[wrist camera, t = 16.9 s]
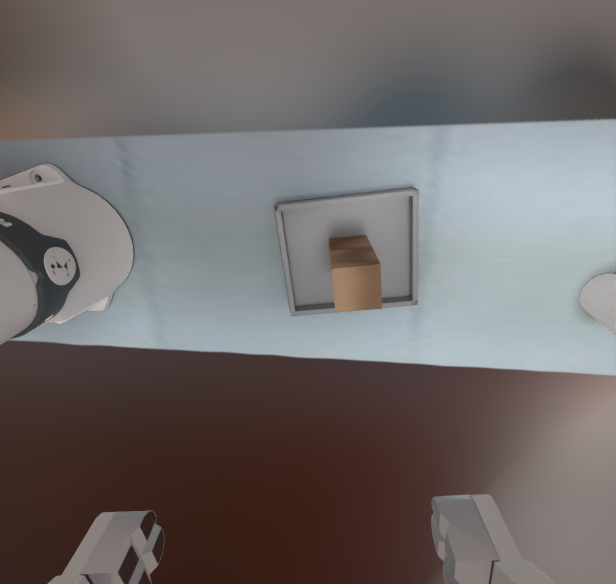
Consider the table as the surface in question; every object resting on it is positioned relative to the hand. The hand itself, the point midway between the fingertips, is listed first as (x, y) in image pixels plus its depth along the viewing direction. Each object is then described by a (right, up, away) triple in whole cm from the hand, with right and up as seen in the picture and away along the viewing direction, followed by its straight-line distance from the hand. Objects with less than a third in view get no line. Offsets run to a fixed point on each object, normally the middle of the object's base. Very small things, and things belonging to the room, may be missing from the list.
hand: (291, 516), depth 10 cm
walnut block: (+5, +11, +32) cm, 35 cm away
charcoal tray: (+6, +12, +33) cm, 35 cm away
